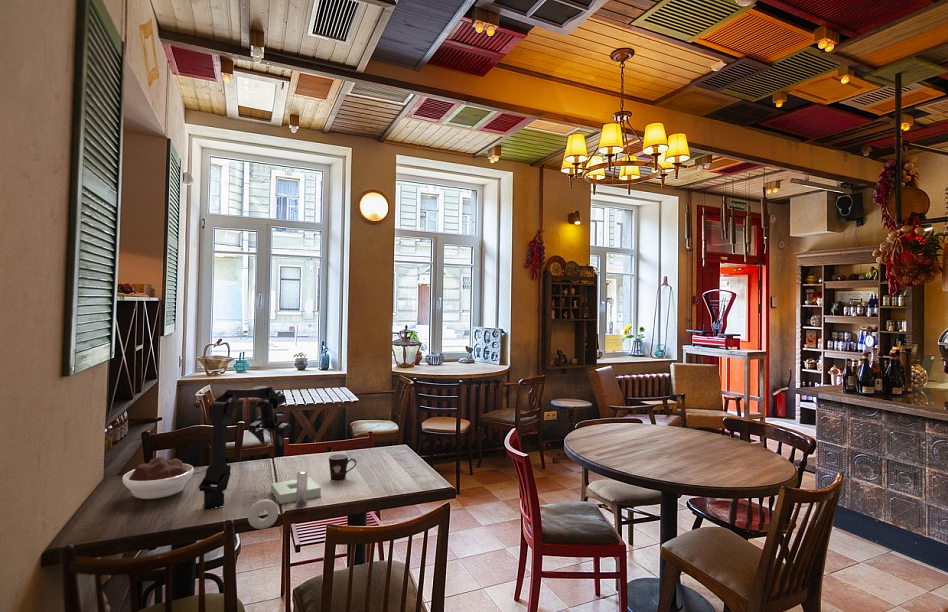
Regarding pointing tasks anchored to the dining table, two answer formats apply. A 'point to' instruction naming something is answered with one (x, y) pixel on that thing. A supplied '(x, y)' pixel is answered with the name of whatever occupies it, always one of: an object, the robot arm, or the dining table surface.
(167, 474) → the bowl of chocolate pudding
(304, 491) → the steel pin
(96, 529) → the dining table surface
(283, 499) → the socket block
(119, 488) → the dining table surface
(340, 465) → the coffee mug
